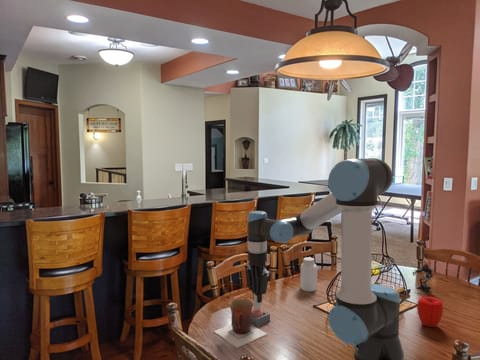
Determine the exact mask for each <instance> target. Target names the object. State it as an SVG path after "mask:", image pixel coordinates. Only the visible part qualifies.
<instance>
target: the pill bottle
mask: <svg viewBox="0 0 480 360" xmlns="http://www.w3.org/2000/svg"><path fill="white" fill-rule="evenodd" d="M317 288H318V266H317V263H315V258H314V257H310V256H309V257H304V258H303V259H302V263H301V265H300V290H302V291H304V292H315V291H317V290H318V289H317Z"/></svg>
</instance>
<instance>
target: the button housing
mask: <svg viewBox="0 0 480 360" xmlns="http://www.w3.org/2000/svg"><path fill="white" fill-rule="evenodd" d="M270 322H271V314H270V313H268V312H266V311H265V310H263V316H260V317H255V316H253V315H252V310H251V324H252V325H253V326H254V327H256V328H258V327H260V326H263V325H265V324H268V323H270Z"/></svg>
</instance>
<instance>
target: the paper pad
mask: <svg viewBox="0 0 480 360" xmlns="http://www.w3.org/2000/svg"><path fill="white" fill-rule="evenodd" d="M213 333H214V334H216V335H217V336H219V337H220V338H222V339H223V340H224V341H226V342H228V343H229V344H231V345H232V346H233V347H235V348H237V349H238V348H240V347H243V346H245V345H247V344H249V343H251V342H254V341H256V340H259V339H261V338H264V337H266V336H267V335H268V333H267V332H265V331H263V330H261V329H260V328H258V327H256V326H254V325H251V330H250V331H249V332H248V333H246V334H237V333H235V332H234V331H233V330H232V325H231V324H229V325H227V326H224V327H221V328H219V329H216V330H214V331H213Z"/></svg>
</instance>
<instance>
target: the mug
mask: <svg viewBox="0 0 480 360" xmlns="http://www.w3.org/2000/svg"><path fill="white" fill-rule="evenodd" d="M229 308H230V312H231V324H230V325H232V330H233V331H234V332H235V333H237V334H246V333H248V332H249V331H250V330H251V325H252V324H251V311H252V309H253V308H254V302H253V301H252V300H249V299H247V298H237V299H234V300H232V301H230V302H229Z"/></svg>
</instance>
